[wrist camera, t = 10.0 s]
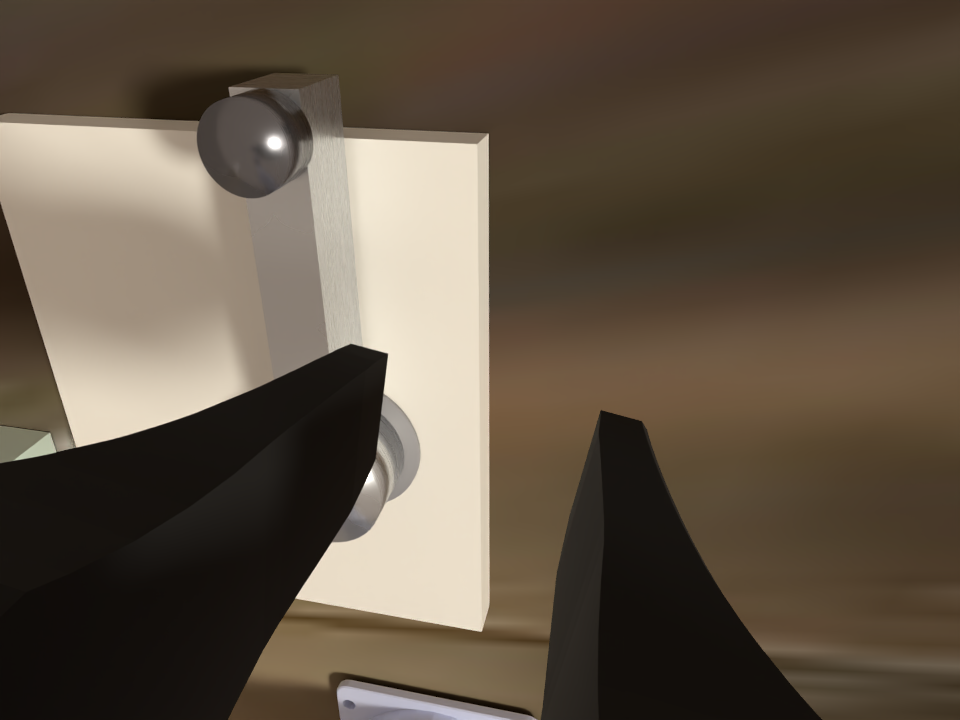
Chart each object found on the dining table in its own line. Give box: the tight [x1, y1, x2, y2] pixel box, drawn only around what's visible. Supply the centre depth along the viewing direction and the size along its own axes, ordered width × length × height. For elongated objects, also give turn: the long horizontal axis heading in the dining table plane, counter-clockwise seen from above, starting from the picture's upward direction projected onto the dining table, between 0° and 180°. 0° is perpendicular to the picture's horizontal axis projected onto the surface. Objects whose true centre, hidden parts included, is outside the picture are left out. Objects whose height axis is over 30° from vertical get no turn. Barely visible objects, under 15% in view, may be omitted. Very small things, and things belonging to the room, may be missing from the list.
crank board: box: [0, 113, 489, 632], centre depth 24 cm, size 16×14×2 cm
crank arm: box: [197, 73, 404, 542], centre depth 19 cm, size 12×4×3 cm, turn 1°
